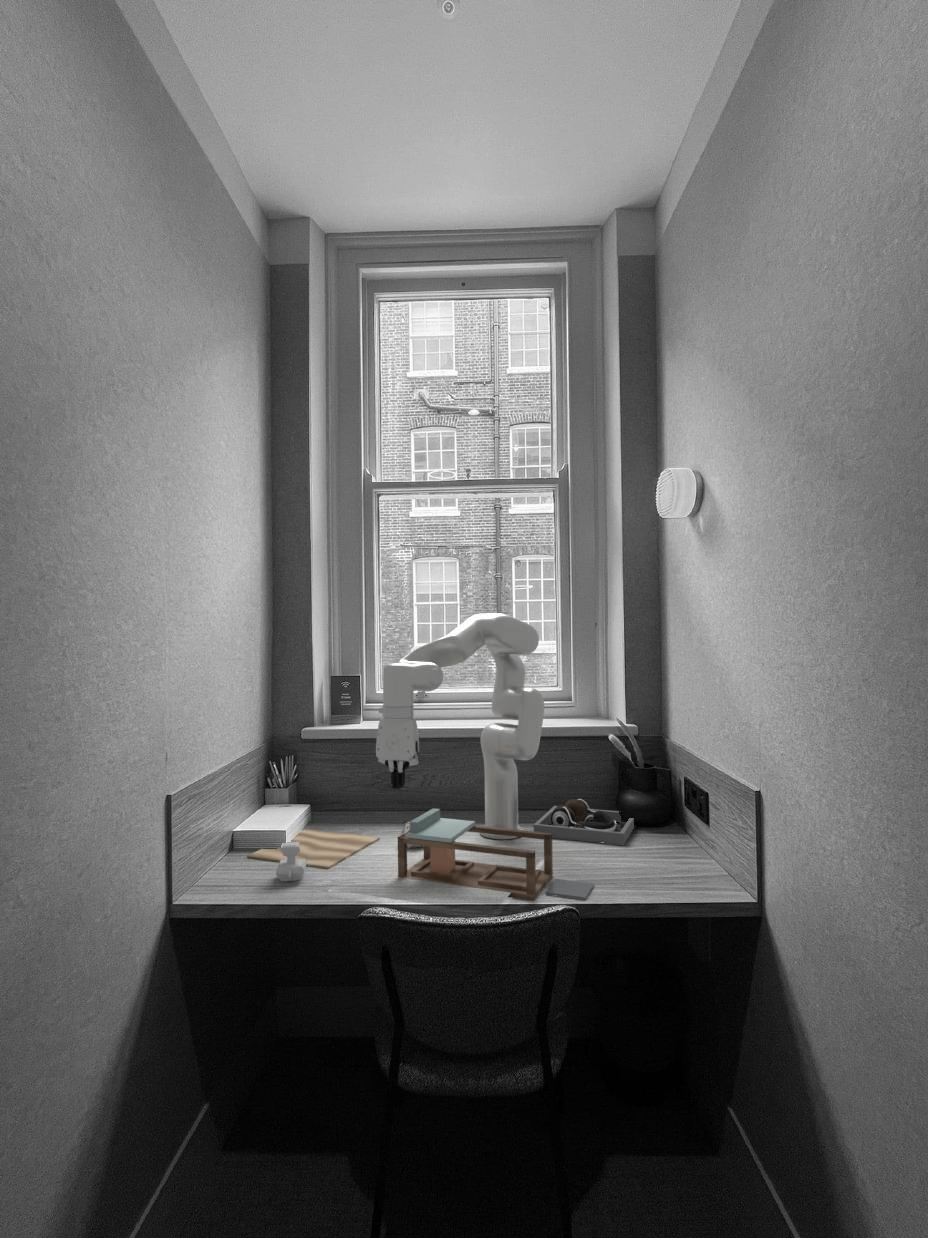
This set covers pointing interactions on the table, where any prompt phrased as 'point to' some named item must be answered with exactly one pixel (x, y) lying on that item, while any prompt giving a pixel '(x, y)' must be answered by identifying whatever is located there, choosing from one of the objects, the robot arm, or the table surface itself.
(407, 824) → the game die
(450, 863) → the block
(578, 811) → the headset
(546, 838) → the frame
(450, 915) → the table surface
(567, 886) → the coaster
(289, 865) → the stamp
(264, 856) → the cork mat
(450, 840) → the lid
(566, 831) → the tray rim
